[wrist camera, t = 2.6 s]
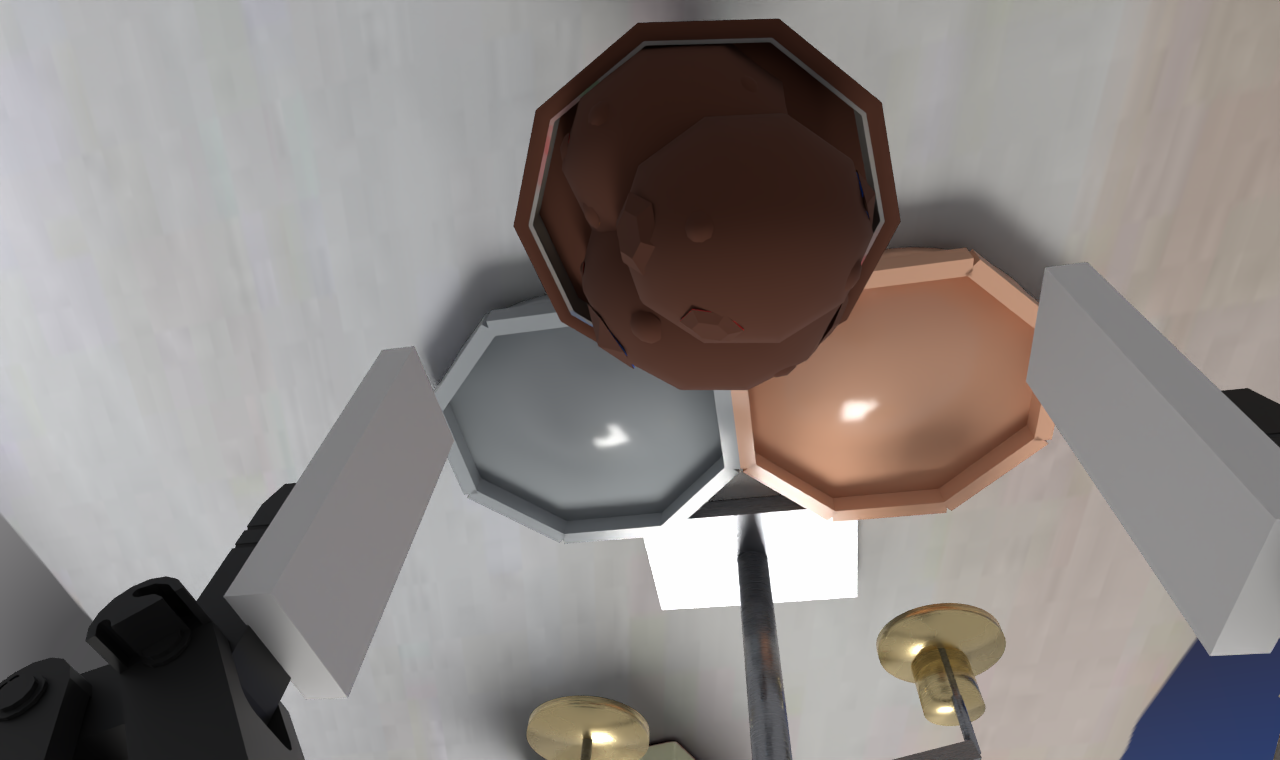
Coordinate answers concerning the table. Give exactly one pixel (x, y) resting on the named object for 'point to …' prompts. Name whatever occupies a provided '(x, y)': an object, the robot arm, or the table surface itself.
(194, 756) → the robot arm
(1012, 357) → the terracotta dish
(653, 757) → the gift box
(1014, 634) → the table surface
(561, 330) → the slate dish
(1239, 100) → the table surface
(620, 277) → the ice cream bowl
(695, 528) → the balance
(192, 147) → the table surface
